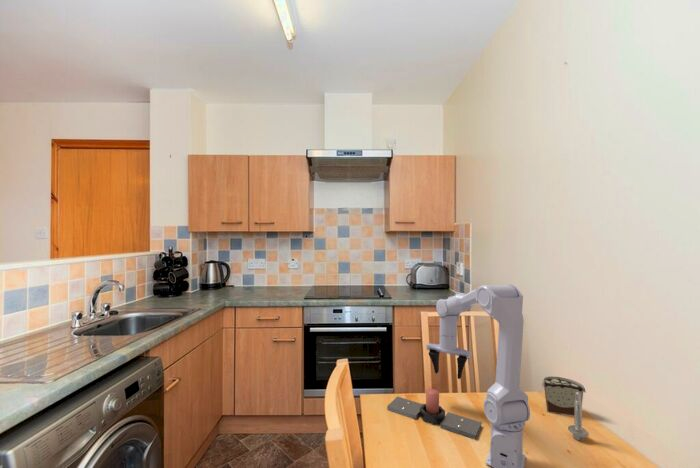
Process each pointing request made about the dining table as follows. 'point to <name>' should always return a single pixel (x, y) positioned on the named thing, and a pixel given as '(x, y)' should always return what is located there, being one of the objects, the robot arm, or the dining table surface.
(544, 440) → the dining table surface
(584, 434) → the screw
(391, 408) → the hinge
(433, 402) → the hinge pin
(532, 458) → the dining table surface
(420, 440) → the dining table surface
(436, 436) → the dining table surface
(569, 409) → the food container
